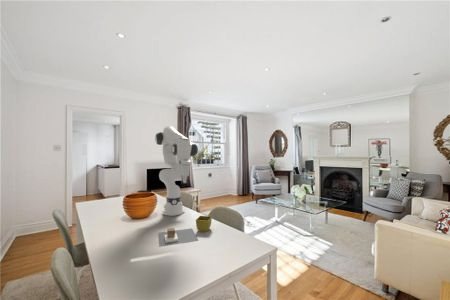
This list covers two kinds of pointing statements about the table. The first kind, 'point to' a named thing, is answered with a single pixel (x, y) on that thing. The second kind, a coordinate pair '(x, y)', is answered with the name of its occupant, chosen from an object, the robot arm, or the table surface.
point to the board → (182, 235)
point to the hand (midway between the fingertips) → (183, 181)
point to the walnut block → (171, 232)
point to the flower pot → (203, 223)
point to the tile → (171, 238)
